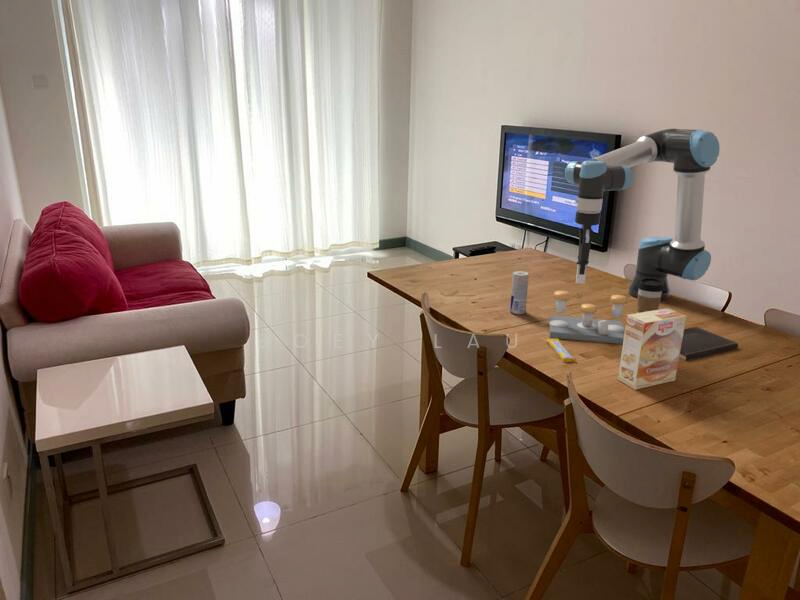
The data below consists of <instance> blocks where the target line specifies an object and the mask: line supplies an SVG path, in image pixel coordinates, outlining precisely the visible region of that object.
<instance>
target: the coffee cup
mask: <svg viewBox="0 0 800 600" xmlns="http://www.w3.org/2000/svg"><path fill="white" fill-rule="evenodd" d="M638 288H639V289H638V297H636V298H637V300H636V305H637V306H636V313H641V312H647V311H654V310H659V308H660V303H661V301H662V300H661V293H662V291H663V290H664V289H663V282H662V281H661V280H659V279H655V278H643V279H641V280H640V282H639V284H638Z"/></svg>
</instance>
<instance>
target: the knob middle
mask: <svg viewBox="0 0 800 600" xmlns="http://www.w3.org/2000/svg"><path fill="white" fill-rule="evenodd" d="M597 310H598V306H597V305H596V304H593V303H582V304H581V306H580V312H583V313H582V318H583V320H582V325H583V326H587V327H590V326H592V321H593V319H594V314H596V313H597Z"/></svg>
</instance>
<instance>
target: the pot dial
mask: <svg viewBox="0 0 800 600" xmlns="http://www.w3.org/2000/svg"><path fill="white" fill-rule="evenodd" d="M602 320H603V321H599V322H598V334H599V335H607V334H608V321H606V320H607V319H602Z"/></svg>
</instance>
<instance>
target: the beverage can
mask: <svg viewBox="0 0 800 600" xmlns="http://www.w3.org/2000/svg"><path fill="white" fill-rule="evenodd" d="M528 288H529V272H527V271H523V270H519V271H513V272H512V281H511V291H510V292H511V293H510V294H511V295H510V306H509V308H510V309H509V311H510V312H511V314H513V315H523V314H525V313H526V312H527V303H528V302H527V300H528V290H529V289H528Z"/></svg>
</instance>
